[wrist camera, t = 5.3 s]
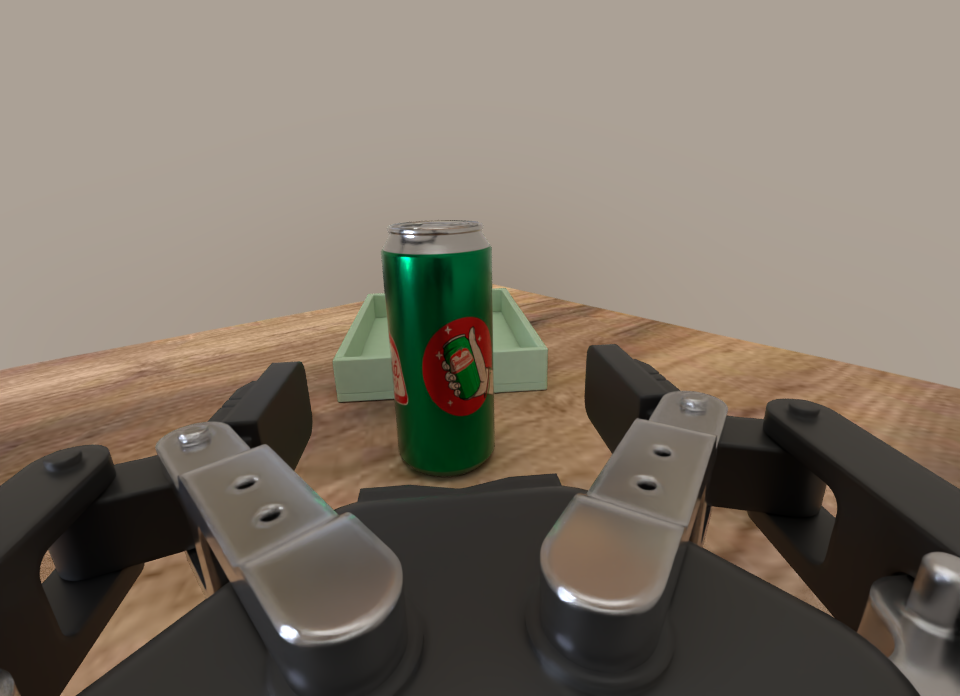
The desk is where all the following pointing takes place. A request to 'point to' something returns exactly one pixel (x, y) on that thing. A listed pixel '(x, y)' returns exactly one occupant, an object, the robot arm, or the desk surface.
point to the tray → (369, 362)
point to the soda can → (441, 343)
